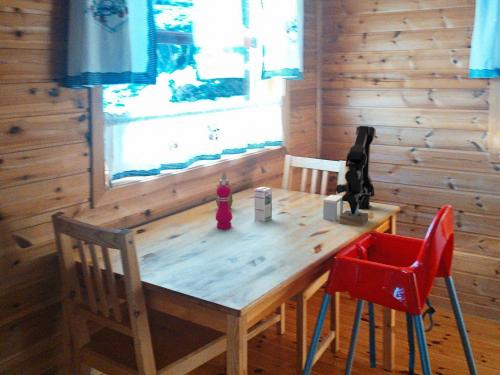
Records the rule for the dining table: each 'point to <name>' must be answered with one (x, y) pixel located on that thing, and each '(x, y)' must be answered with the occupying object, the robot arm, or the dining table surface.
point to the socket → (353, 219)
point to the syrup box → (263, 203)
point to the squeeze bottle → (226, 185)
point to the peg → (355, 212)
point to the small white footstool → (332, 207)
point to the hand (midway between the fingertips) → (354, 213)
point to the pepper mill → (223, 207)
